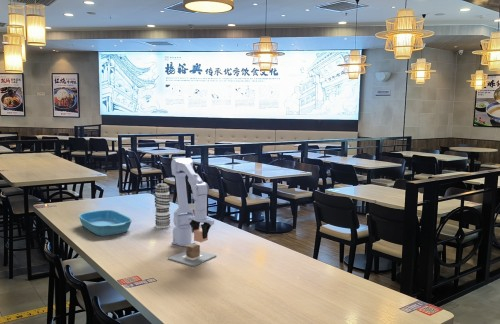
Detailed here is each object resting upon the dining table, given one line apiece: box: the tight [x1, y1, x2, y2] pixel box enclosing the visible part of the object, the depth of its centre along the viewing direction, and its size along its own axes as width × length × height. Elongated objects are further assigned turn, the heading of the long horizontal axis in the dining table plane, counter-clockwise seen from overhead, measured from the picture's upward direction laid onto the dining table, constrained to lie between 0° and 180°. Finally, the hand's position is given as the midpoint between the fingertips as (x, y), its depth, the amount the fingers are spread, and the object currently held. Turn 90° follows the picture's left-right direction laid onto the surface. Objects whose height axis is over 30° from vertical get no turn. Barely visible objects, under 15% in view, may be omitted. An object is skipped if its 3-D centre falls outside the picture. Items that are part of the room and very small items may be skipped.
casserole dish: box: [78, 209, 133, 237], centre depth 243 cm, size 37×22×7 cm, turn 42°
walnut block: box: [185, 243, 201, 258], centre depth 198 cm, size 4×4×5 cm
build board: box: [167, 250, 217, 268], centre depth 198 cm, size 16×16×1 cm
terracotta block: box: [193, 227, 209, 243], centre depth 199 cm, size 4×4×5 cm
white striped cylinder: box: [154, 182, 171, 229], centre depth 248 cm, size 9×9×25 cm
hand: (200, 237), depth 199 cm, fingers closed on terracotta block, 4 cm apart
